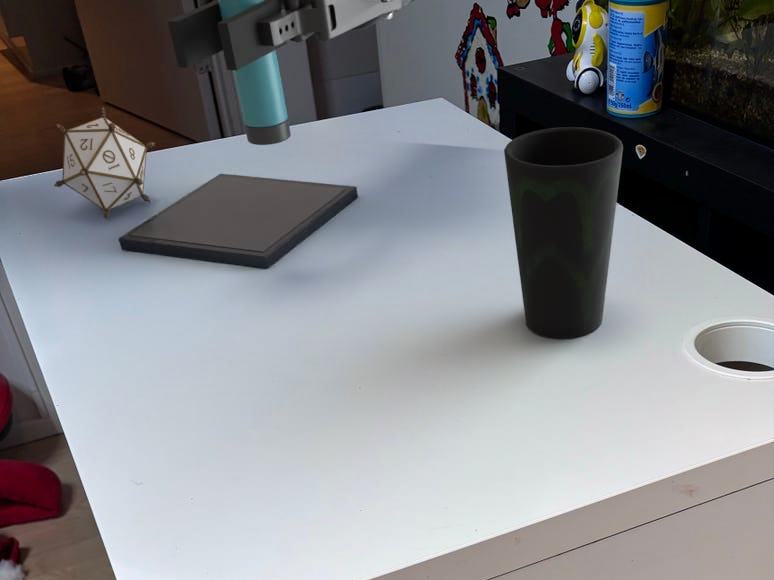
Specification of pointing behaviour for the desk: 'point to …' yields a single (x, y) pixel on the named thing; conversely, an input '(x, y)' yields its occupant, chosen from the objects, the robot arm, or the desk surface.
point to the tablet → (240, 220)
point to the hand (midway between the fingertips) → (202, 45)
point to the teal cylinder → (259, 90)
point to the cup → (563, 225)
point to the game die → (104, 163)
